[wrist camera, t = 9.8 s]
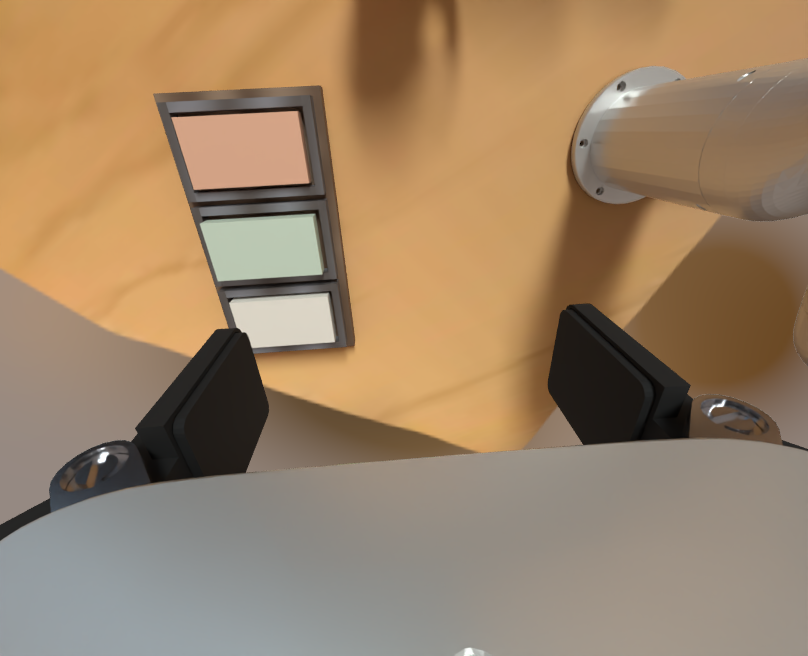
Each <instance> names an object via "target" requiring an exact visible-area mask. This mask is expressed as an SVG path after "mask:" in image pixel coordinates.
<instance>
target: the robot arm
mask: <svg viewBox="0 0 808 656" xmlns="http://www.w3.org/2000/svg"><path fill="white" fill-rule="evenodd" d="M617 86H618V89H617ZM580 142H582V144H581V145H580ZM571 161H572V168H573V172H574V175H575V178H576V180H577V182H578V184H579V185H580V187H581V188H582V189H583V190H584V191H585V192H586V193H587V194H588V195H589V196H591V197H593V198H595V199H596V200H599V201H602V202H605V203H611V204H626V203H630V202H634V201H637V200H640V199H642V198H644V197H650V198H655V199H659V200H663V201H667V202H671V203H675V204H679V205H683V206H687V207H692V208H696V209H700V210H704V211H708V212H712V213H716V214H720V215H724V216H729V217H734V218H738V219H743V220H749V221H777V220H784V219H789V218H795V217H798V216H802V215H805V214H808V58H804V59H799V60H794V61H790V62H784V63H778V64H772V65H766V66H760V67H754V68H749V69H743V70H737V71H731V72H725V73H719V74H713V75H707V76H702V77H696V78H690V79H686V78H685V77H684V76H683V75H681V74H680V73H678V72H677V71H676V70H673V69H670V68H667V67H661V66H650V67H644V68H639V69H635V70H632V71H629V72H627V73H625V74H623V75H621V76H619V77H617V78H615V79H614V80H613V81H611V82H610V83H609V84H607V85H606V86H605V87H604V88H603V89H602V90H601V91H600V92H599V93H598V94H597V95H596V96H595V97H594V98H593V99H592V101H591V102H590V103H589V105H588V106H587V107H586V109H585V111H584V113H583V115H582V116H581V118H580V120H579V122H578V125H577V128H576V131H575V133H574V138H573V143H572V151H571ZM597 189H598V190H597ZM596 190H597V192H596ZM793 338H794V345H795V348H796V351H797V353H798V355H799V356H800V357H801V359H802V361H803V362H804V363H805V364H806V365H807V366H808V286H807V289H806V291H805V294H804V297H803V299H802V303H801V306H800V309H799V312H798V315H797V318H796V322H795V325H794V333H793ZM689 388H690V384H688V383H687V382H686V381H685V380H683V379H682V378H681V377H680V376H678V375H677V374H676V373H675V372H674V371H672V370H671V369H670V368H669V367H668V366H666V365H665V364H664V363H663V362H661V361H660V360H659V359H658V358H656V357H655V356H654V355H653V354H652V353H650V352H649V351H648V350H647V349H645V348H644V347H643V346H642V345H641V344H639V343H638V342H637V341H636V340H634V339H633V338H632V337H631V336H629V335H628V334H627V333H626V332H625V331H623V330H622V329H621V328H620V327H618V326H617V325H616V324H615V323H614V322H612V321H611V320H610V319H609V318H607V317H606V316H605V315H604V314H602V313H601V312H600V311H599V310H598V309H596V308H595V307H594V306H593V305H591V304H575V305H569V306H567V308H566V310H563V311H562V312H561V314H560V318H559V324H558V329H557V334H556V340H555V345H554V351H553V356H552V362H551V367H550V373H549V378H548V390H549V393H550V394H551V396H552V398H553V399H554V401H555V402H556V404H557V405H558V407H559V408H560V410H561V411H562V413H563V414H564V416H565V417H566V419H567V421H568V422H569V424H570V425H571V427H572V428H573V430H574V431H575V433H576V434H577V436H578V437H579V439H580V440H581V442H582V444H583V445H576V446H563V447H551V448H537V449H525V450H513V451H500V452H488V453H476V454H464V455H452V456H440V457H427V458H415V459H404V460H392V461H378V462H366V463H354V464H342V465H329V466H319V467H306V468H295V469H284V470H273V471H261V472H249V473H246V470H247V468H248V465H249V462H250V460H251V457H252V455H253V452H254V450H255V447H256V444H257V442H258V439H259V437H260V434H261V432H262V429H263V427H264V424H265V422H266V419H267V416H268V413H269V405H268V401H267V397H266V394H265V391H264V387H263V384H262V380H261V377H260V374H259V370H258V367H257V364H256V360H255V357H254V353H253V350H252V347H251V343H250V340H249V337H248V335H247V333H245V332H241V330H240V329H239V328H229V329H217V330H216V331H215V332H214V333H213V334H212V335H211V337H210V338H209V339H208V340H207V341H206V343H205V344H204V345H203V346H202V347H201V349H200V350H199V351H198V352H197V354H196V355H195V356H194V357H193V358H192V360H191V361H190V362H189V363H188V365H187V366H186V367H185V368H184V369H183V371H182V372H181V373H180V374H179V375H178V377H177V378H176V379H175V380H174V382H173V383H172V384H171V385H170V386H169V388H168V389H167V390H166V391H165V393H164V394H163V395H162V397H160V399H159V400H158V401H157V402H156V404H155V405H154V406H153V407H152V408H151V410H150V411H149V412H148V413H147V414H146V416H145V417H144V418H143V419H142V420H141V422H140V423H139V424H138V425H137V427H136V428H135V429H136V431H137V433H138V434H137V435H136V436H135V438H134V439H133V440H132V441H131V442H130V441H126V440H117V441H111V442H107V443H103V444H100V445H97V446H95V447H92V448H90V449H88V450H86V451H84V452H83V453H81V454H79V455H77V456H76V457H74V458H73V459H72V460H70V461H69V462H67V463H66V464H65V465H64V466H63V467H62V468H61V469H60V470H59V471H58V472H57V473H56V475H55V476H54V477H53V479H52V481H51V483H50V488H49V494H50V499H48V500H46V501H44V502H42V503H41V504H38V505H37V506H35V507H33V508H31V509H29V510H27V511H25V512H24V513H22V514H20V515H18V516H16V517H14V518H12V519H11V520H9V521H7V522H5V523H3V524H1V525H0V656H808V449H806V448H803V447H800V446H797V445H795V444H791V443H789V442H786V441H783V440H782V439H781V434H780V429H779V427H778V426H777V424H776V422H775V421H774V420H773V419H772V418H771V417H770V416H769V415H768V414H766V413H765V412H763V411H762V410H760V409H759V408H757V407H755V406H753V405H751V404H749V403H747V402H744V401H741V400H738V399H736V398H732V397H728V396H723V395H716V394H706V395H700V396H698V397H696V398H694V400H693V399H692V398H691V397H690V396H689V395H688V394H687V393H688V390H689Z"/></svg>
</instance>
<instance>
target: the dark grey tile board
mask: <svg viewBox="0 0 808 656" xmlns="http://www.w3.org/2000/svg"><path fill="white" fill-rule="evenodd" d="M153 95H154V98H155V101H156V104H157V107H158V111H159V114H160V117H161V120H162V123H163V126H164V129H165V132H166V135H167V138H168V142H169V145H170V148H171V151H172V154H173V157H174V160H175V163H176V166H177V169H178V172H179V176H180V179H181V182H182V185H183V188H184V191H185V194H186V197H187V200H188V203H189V206H190V210H191V213H192V216H193V219H194V222H195V225H196V228H197V231H198V234H199V237H200V240H201V244H202V247H203V250H204V253H205V256H206V259H207V262H208V265H209V268H210V271H211V274H212V278H213V281H214V284H215V287H216V290H217V293H218V296H219V299H220V302H221V305H222V309H223V312H224V315H225V318H226V321H227V324H228V327H229V328H237V327H236V324H235V321H234V317H233V314H232V311H231V308H230V304H229V303H230V302H231V301H232V300H233V298H235V297H250V296H265V295H280V294H295V293H310V292H325V291H329V292H330V299H331V305H332V311H333V317H334V324H335V330H336V340H335V342H330V343H316V344H302V345H288V346H273V347H259V348H252V350H253V353H268V352H282V351H296V350H310V349H324V348H338V347H347V346H354V345H355V335H354V327H353V319H352V312H351V304H350V296H349V289H348V281H347V274H346V266H345V258H344V251H343V243H342V235H341V228H340V220H339V212H338V205H337V197H336V190H335V182H334V174H333V167H332V159H331V151H330V144H329V136H328V128H327V121H326V113H325V106H324V98H323V90H322V87H321V86H301V87H281V88H261V89H240V90H220V91H200V92H179V93H159V94H153ZM288 111H299V112H301V117H302V123H303V129H304V135H305V142H306V148H307V154H308V160H309V167H310V173H311V179H312V181H311V182H310V183H304V184H287V185H270V186H252V187H235V188H217V189H200V190H194V189H193V185H192V182H191V179H190V176H189V172H188V169H187V166H186V163H185V160H184V156H183V153H182V150H181V147H180V144H179V140H178V137H177V134H176V131H175V127H174V124H173V121H172V118H171V117H190V116H210V115H229V114H249V113H268V112H288ZM302 214H315V215H316V221H317V227H318V233H319V240H320V246H321V252H322V258H323V264H324V271H323V274H322V275H307V276H291V277H276V278H261V279H245V280H230V281H218V280H217V277H216V274H215V270H214V267H213V264H212V261H211V258H210V255H209V251H208V248H207V245H206V242H205V239H204V236H203V233H202V229H201V226H200V223H202V222H204V221H206V220H218V219H235V218H252V217H268V216H285V215H302Z"/></svg>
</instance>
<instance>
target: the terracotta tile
mask: <svg viewBox="0 0 808 656" xmlns="http://www.w3.org/2000/svg"><path fill="white" fill-rule="evenodd" d="M171 118H172V121H173V124H174V127H175V131H176V134H177V137H178V140H179V144H180V147H181V150H182V153H183V156H184V160H185V163H186V166H187V169H188V172H189V176H190V179H191V182H192V185H193V189H194V190H200V189H217V188H235V187H252V186H270V185H287V184H304V183H310V182H311V181H312V179H311V173H310V167H309V160H308V154H307V148H306V142H305V135H304V129H303V123H302V117H301V112H299V111H288V112H268V113H249V114H229V115H210V116H190V117H171Z"/></svg>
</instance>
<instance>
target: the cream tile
mask: <svg viewBox="0 0 808 656" xmlns="http://www.w3.org/2000/svg"><path fill="white" fill-rule="evenodd" d="M229 304H230V308H231V311H232V314H233V317H234V321H235V324H236V327H237V328H239V329H240V330H241V332H245V333H247V335H248V337H249V340H250V343H251V347H252V348H259V347H273V346H288V345H302V344H316V343H330V342H335V340H336V330H335V324H334V317H333V311H332V305H331V299H330V292H329V291H325V292H310V293H295V294H280V295H265V296H250V297H235V298H233V300H232V301H231V302H230V303H229Z"/></svg>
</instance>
